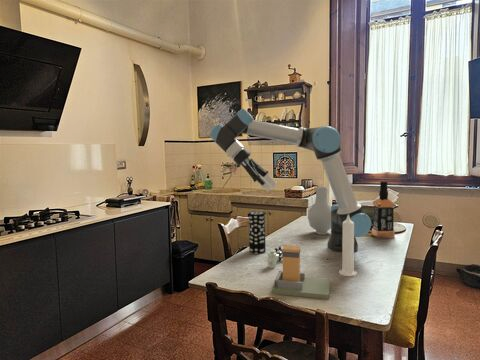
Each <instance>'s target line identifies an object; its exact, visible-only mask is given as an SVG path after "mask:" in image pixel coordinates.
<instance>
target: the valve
mask: <svg viewBox="0 0 480 360" xmlns="http://www.w3.org/2000/svg"><path fill="white" fill-rule="evenodd" d="M282 249H283V248H282V247H281V246H279V247H278V248H277V247H275V248H274V251H268V252H267V256H268V257H267V267H268V268H270V269H276V268H277V267H278V266H277V265H278V264H277V262H278V261H279V262H282V259H283V257H282Z"/></svg>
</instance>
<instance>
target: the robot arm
mask: <svg viewBox="0 0 480 360" xmlns="http://www.w3.org/2000/svg"><path fill="white" fill-rule="evenodd" d="M240 134H243V135H249V136H253V137H259V138H264V139H267V140H268V139H269V140H275V141H279V142H283V143H289V144H293V145H295V146H296V147H297V148H298V147H299V148H303V149H306V150H309V151H311V152H314V155H315V157H316V159H317V161H319V162H321V164H322V167H323V170H324V171H325V174H326V177H327V180H328V183H329V186H330V188H331V190H332V193H333V196H334V199H335V202H336V204H332V205H331V229H330V235H329V238H328V241H327V243H326V244H327V249H328V250H329V251H333V252H335V253H336V252H337V253H342V238H343V222H344V221H345V220H346V219H347V216H348V215H349V217H350V220H351V221H353V222H354V252H357V251H358V250H359V244H358V242H357V241H358V240H357V238H362V237H364V236H366V235H367V234H368V233H369V232H370V230H371V229H372V228H371V227H372V219H371V218H370V216H369V215H368V214H366V213H365V211H364V209H363V206H362V203H360V202H357V199H356V197H355V193H354V191H353V187H352V185H351V183H350V180H349V177H348V174H347V171H346V169H345V166H344V164H343V160H342V158H341V155H340V154H341V152H342V148H341V142H342V141H341V139H342V138H341V135H340V133H339V132H338V130H337V129H336V128H334V127H332V126H328V125H321V126H317V127H311V128H310V127H302V126H300V127H298V128H297V127H292V126H291V127H290V126H286V125H281V124H277V123H272V122H266V121H261V120H256V119H254V117H253V116H252V115H251V114H250V112H249V111H247V109H245V108H241V109H240V110H239V111H237V112H236V113H235V114H234V116H232V117H231V118H230V119H229V120H228V121H227V123H225V124H224V125H223V124H222V123H221V124H220V123H218V124H217V125H216V126H214V127H213V128H212V130H211V131H210V133H209V136H210V138H211V140H212V141H213V142H215V144H216V145H217V146H218V147H219V148H220V149H222V151H224V152H225V154H226V156H227V157H230V159H233V161H234V163H236V165H237V166H241V167H243V168H244V170H245V171H246V172H247V173H248V175H249V176H250V178H251V179H252V181H253V182H254V183H258V184H259V185H260V186H261V187H262V188H263V189H264V190H265V191H266V192H268V193H269V191H270V190H271V189H273V188H275V187H276V186H277V185H278V183H277V182H276V180H275V179H274V178H273V177H271V175H270V174H268V173H269V171H267V170H266V169H264V168H263V167H262V166H261V165H260V164H258V162H256V161H255V160H254V158H250V156H251V152H250V151H249V150H248V149H247V148H245V146H244V145H243V144H242V143H241V142H240V141H239V140H238V139H237V138H238V136H239V135H240Z"/></svg>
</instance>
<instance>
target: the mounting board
mask: <svg viewBox="0 0 480 360" xmlns="http://www.w3.org/2000/svg"><path fill="white" fill-rule="evenodd" d="M305 274H306V273H305V272H300V282H297V281H285V280H283V270H279V271H278V272H277V274H276V276H275V279H274V282H273V283H274V284H273V285H274V286H273V288H272V294H273V295H280V294H281V296H291V295H293V297H302V296H303V297H305V298H314V299H326V300H329V299H330V288H331V279H330V278H324V277H313V276H312V277H310V276H306V275H305ZM303 297H302V298H303Z"/></svg>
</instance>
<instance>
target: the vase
mask: <svg viewBox="0 0 480 360" xmlns="http://www.w3.org/2000/svg"><path fill="white" fill-rule="evenodd" d="M331 206H332V205H331V204H330V203H329V197H328V187H327V186H316V187H315V201H314V203H313V204H312V205H311V206H310V208H308V210H307V219H308V223H309V226H310V227H311V228H312V229H313V230H315V231H316V234H317V235H323V236H324V235H328V231H331Z"/></svg>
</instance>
